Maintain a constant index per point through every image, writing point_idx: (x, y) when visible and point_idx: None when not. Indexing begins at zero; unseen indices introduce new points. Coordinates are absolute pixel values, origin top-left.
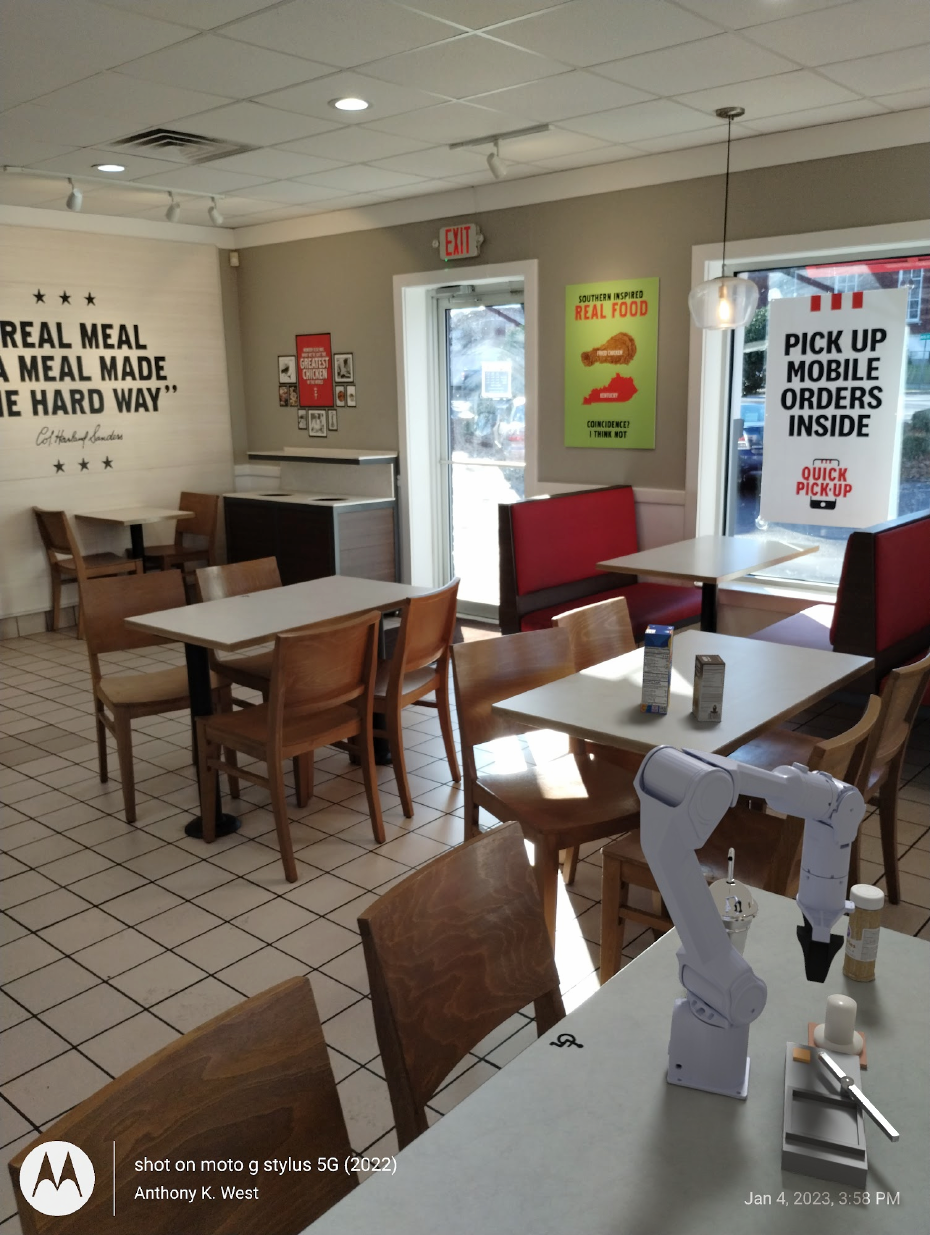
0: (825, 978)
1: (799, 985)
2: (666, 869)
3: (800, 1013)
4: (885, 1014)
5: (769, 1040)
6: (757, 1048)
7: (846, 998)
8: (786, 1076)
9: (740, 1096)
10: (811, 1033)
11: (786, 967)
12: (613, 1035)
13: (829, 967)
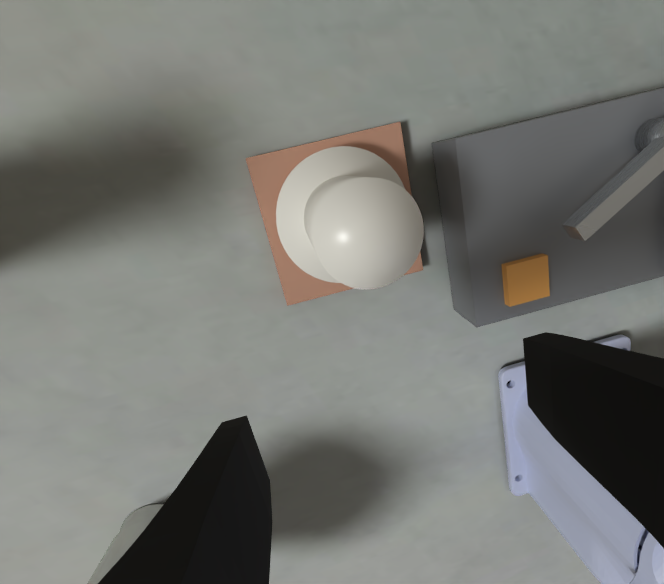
0: (573, 338)
1: (106, 373)
2: None
3: (244, 332)
4: (76, 117)
5: (400, 358)
6: (443, 369)
7: (332, 226)
8: (613, 287)
9: (630, 345)
10: (336, 285)
11: (37, 427)
12: (522, 570)
13: (655, 358)
